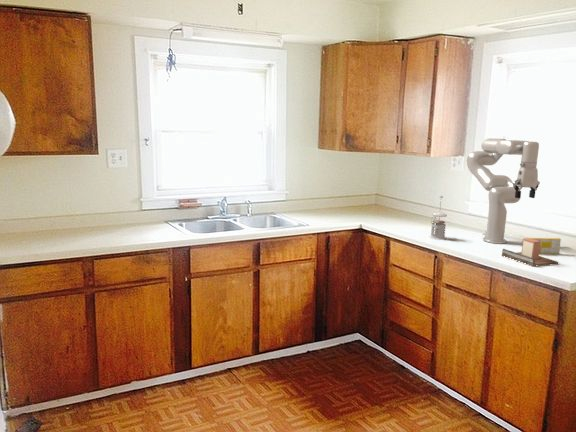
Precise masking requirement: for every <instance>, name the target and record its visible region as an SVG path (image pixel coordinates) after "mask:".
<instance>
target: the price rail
mask: <svg viewBox="0 0 576 432" xmlns="http://www.w3.org/2000/svg"><path fill="white" fill-rule="evenodd" d="M502 254H505V255H508V256H511V257H514V258H517V259H520V260H523V261H526V262H529V263H532V264H535V259H534V258H531V257H527V256H524V255H521V254H518V253H516V252H514V251H512V250H509V249H506V248H502V253H501V255H502Z"/></svg>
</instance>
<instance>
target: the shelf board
mask: <svg viewBox="0 0 576 432" xmlns="http://www.w3.org/2000/svg"><path fill="white" fill-rule="evenodd" d="M515 253H518V254H521V253H522V251H519V252H518V251H516V252H515ZM504 256H505V257H504ZM501 257H504V258H506V257H508V258H507V259H509V258H511V259H510V260H512V259H514V260H513V261H515V260H517V261H516V262H518V261H520V262H519V263H521V262H523V263H522V264H524V263H526V264H525V265H527V264H529V265H528V266H530V265H532V266H531V267H537V266H536V265H544V266H551V265H550V264H556V265H559V261H557V260H553V259H550V258H548V257H544V256H542V255H539V258H538V259H535V264H532V263H529V262H526V261H523V260H520V259H517V258H514V257H511V256H508V255H505V254H502V253H501Z"/></svg>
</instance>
